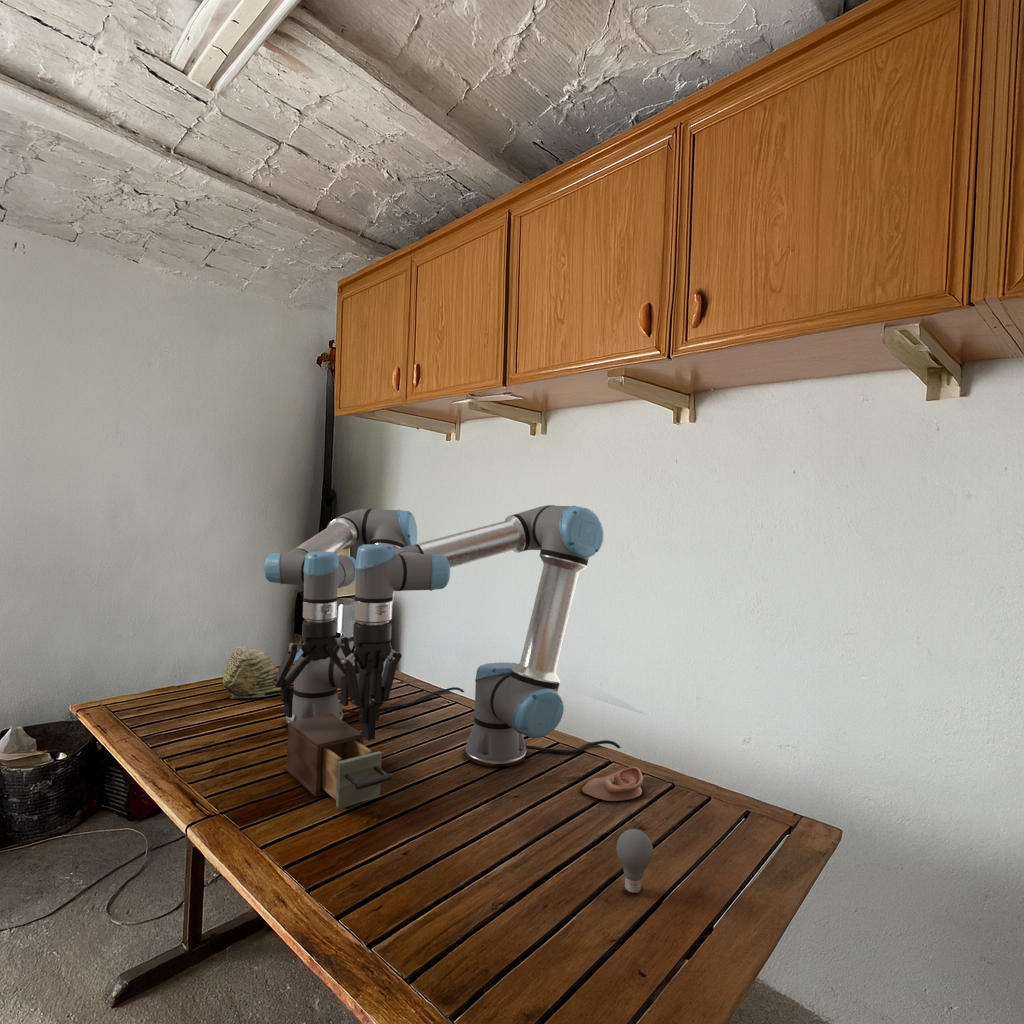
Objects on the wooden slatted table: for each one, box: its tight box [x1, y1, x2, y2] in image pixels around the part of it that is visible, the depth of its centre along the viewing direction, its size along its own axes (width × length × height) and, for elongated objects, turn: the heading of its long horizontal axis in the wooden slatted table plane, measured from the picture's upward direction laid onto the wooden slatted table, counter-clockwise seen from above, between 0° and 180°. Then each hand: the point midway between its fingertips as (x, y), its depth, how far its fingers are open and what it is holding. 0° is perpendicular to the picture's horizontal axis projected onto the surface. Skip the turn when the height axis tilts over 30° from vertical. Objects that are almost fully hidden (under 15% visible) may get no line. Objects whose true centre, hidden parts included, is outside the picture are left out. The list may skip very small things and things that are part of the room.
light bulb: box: [615, 828, 654, 894], centre depth 106 cm, size 6×6×10 cm
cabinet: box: [286, 714, 364, 798], centre depth 143 cm, size 16×11×11 cm, turn 41°
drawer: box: [320, 740, 393, 810], centre depth 133 cm, size 21×9×9 cm, turn 41°
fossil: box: [222, 646, 281, 699], centre depth 198 cm, size 9×18×15 cm, turn 132°
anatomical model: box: [581, 766, 644, 802], centre depth 142 cm, size 13×4×12 cm
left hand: (317, 710), depth 147 cm, fingers open, 13 cm apart
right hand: (368, 737), depth 128 cm, fingers closed
